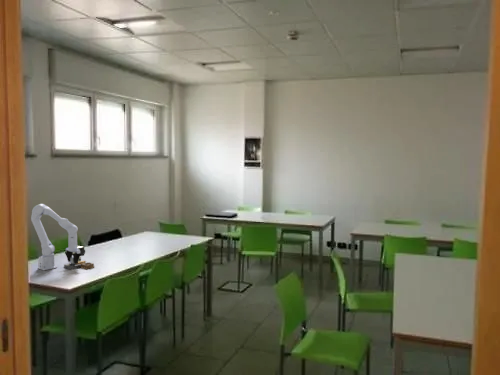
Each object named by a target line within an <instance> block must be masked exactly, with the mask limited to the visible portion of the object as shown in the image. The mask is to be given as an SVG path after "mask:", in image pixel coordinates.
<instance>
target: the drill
mask: <svg viewBox="0 0 500 375" xmlns="http://www.w3.org/2000/svg"><path fill="white" fill-rule="evenodd" d="M69 264H70V265H71V266H72V265H75V263H74V257H73V256H72V257H71V258H70V262H69Z"/></svg>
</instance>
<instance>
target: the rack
mask: <svg viewBox="0 0 500 375" xmlns="http://www.w3.org/2000/svg"><path fill="white" fill-rule="evenodd" d="M93 268H95V264H94V263H93V262H86V263H83V264H81V269H84V270H88V269H93Z"/></svg>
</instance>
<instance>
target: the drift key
mask: <svg viewBox="0 0 500 375" xmlns="http://www.w3.org/2000/svg"><path fill="white" fill-rule="evenodd" d="M83 263H87V261H86V260H81V261H79V262H78V263H76V264H75V265H77V264H83Z"/></svg>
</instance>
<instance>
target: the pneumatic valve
mask: <svg viewBox="0 0 500 375" xmlns="http://www.w3.org/2000/svg"><path fill="white" fill-rule="evenodd" d="M77 248H78V249H79V250H80V253H81V255H80V257H79V260H78V262H79V261H82V259H81V258H82V257H83V256H85V254H86V249H85V246H83V245H82V246H80V245H78V244H77ZM73 253H74V252H73Z"/></svg>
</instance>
